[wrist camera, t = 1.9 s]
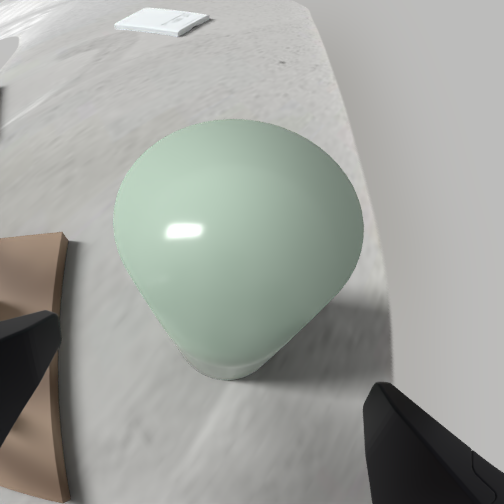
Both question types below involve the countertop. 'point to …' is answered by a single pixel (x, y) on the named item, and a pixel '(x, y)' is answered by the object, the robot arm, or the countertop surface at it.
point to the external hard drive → (162, 21)
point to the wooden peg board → (46, 395)
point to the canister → (236, 239)
